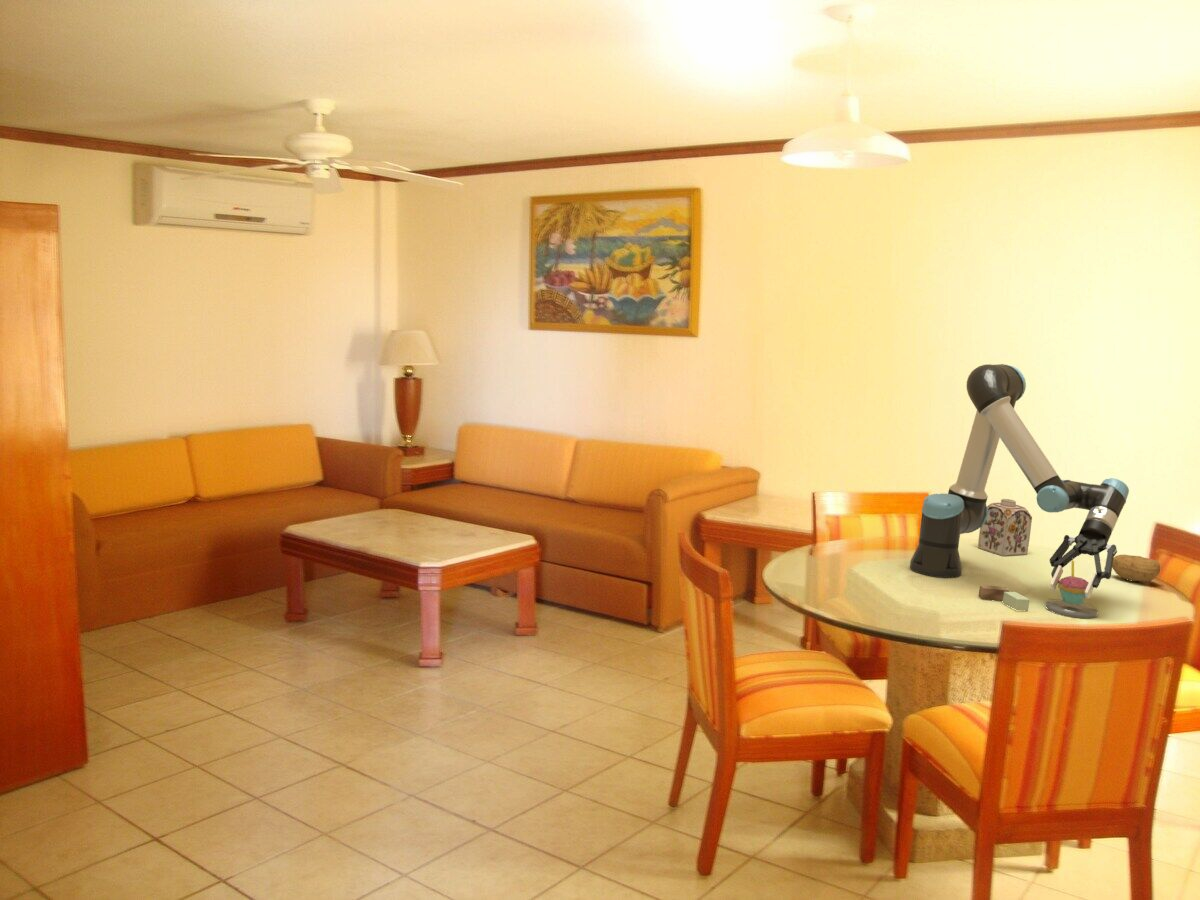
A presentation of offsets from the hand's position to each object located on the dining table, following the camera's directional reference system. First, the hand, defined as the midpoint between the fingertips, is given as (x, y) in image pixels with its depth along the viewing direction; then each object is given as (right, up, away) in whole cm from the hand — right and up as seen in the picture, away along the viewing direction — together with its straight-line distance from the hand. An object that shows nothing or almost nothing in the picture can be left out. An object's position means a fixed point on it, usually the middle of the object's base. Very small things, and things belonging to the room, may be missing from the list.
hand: (1069, 591), depth 277 cm
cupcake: (+2, -4, +3) cm, 5 cm away
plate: (+2, -6, +3) cm, 7 cm away
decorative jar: (+10, +3, +71) cm, 72 cm away
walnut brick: (-17, -4, +10) cm, 20 cm away
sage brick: (-13, -5, +3) cm, 15 cm away
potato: (+39, -3, +42) cm, 58 cm away
